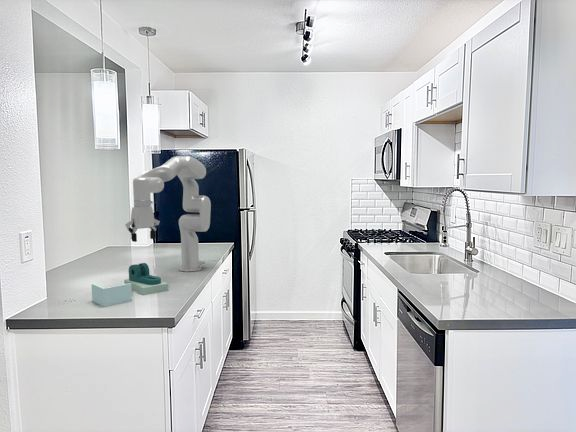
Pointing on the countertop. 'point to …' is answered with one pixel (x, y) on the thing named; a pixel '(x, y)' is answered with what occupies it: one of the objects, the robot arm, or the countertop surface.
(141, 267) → the bracket
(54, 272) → the countertop surface
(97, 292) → the l-shaped corner panel
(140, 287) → the base plate
